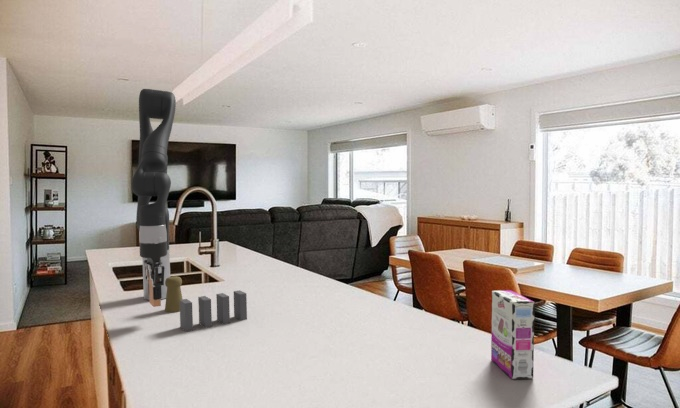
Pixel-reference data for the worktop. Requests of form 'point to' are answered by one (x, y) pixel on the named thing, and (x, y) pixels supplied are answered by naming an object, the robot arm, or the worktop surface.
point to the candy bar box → (513, 334)
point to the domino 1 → (186, 315)
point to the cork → (173, 294)
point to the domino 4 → (240, 305)
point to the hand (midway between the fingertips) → (155, 296)
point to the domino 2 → (205, 311)
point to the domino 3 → (223, 308)
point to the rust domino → (152, 301)
